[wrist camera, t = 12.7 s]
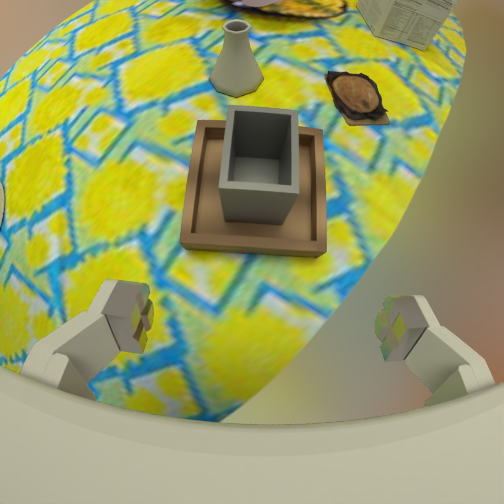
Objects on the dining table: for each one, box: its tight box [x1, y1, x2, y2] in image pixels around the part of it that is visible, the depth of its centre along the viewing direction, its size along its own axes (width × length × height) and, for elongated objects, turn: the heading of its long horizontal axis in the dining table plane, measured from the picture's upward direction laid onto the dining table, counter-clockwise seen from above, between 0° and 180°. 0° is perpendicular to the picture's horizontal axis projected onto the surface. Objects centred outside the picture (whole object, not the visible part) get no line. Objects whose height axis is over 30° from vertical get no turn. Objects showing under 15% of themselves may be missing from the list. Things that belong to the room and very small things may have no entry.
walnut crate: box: [179, 120, 327, 258], centre depth 30 cm, size 14×14×4 cm
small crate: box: [219, 105, 299, 225], centre depth 26 cm, size 8×6×9 cm
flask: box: [209, 19, 264, 97], centre depth 30 cm, size 7×7×10 cm
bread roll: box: [324, 71, 390, 126], centre depth 34 cm, size 11×8×4 cm
